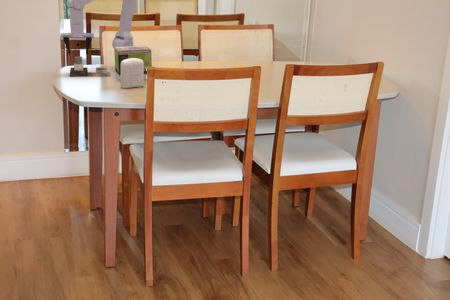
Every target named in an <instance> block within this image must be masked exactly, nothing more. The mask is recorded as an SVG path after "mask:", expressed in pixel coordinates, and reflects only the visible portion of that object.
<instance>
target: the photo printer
mask: <svg viewBox="0 0 450 300" xmlns="http://www.w3.org/2000/svg"><path fill="white" fill-rule="evenodd" d="M144 82H145V80H144V63H143V60H141V59H138V58H129V59H125V60H123V61H121V81H120V88H122V89H129V88H139V87H144V85H145V83H144Z"/></svg>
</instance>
